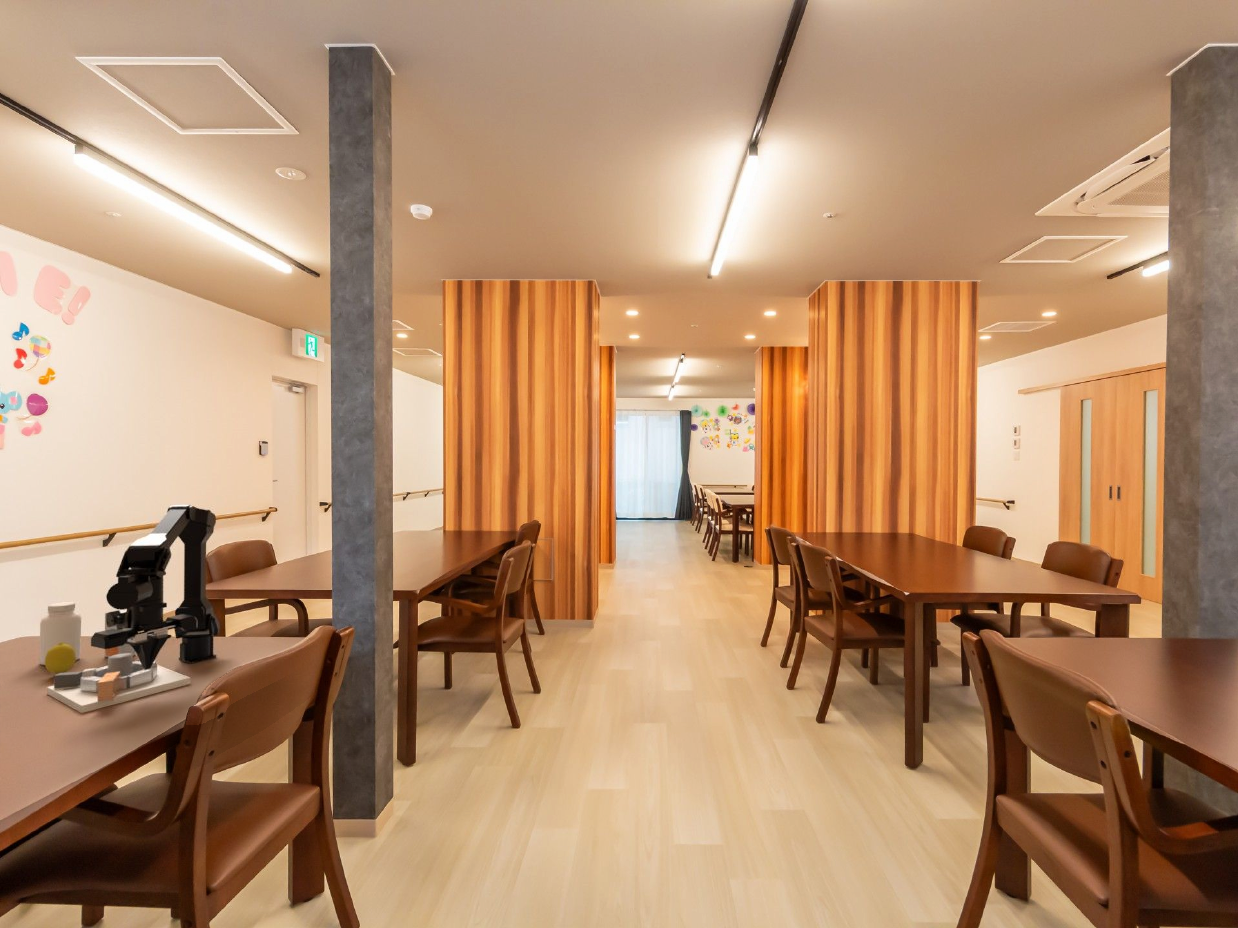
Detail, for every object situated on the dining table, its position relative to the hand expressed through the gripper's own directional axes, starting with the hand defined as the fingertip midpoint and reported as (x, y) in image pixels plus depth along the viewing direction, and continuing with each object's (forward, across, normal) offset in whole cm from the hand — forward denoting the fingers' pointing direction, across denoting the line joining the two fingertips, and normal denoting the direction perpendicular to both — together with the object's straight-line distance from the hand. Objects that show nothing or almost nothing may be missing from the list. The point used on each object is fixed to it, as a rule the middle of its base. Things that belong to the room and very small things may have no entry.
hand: (146, 668), depth 136 cm
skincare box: (+6, -14, -37) cm, 40 cm away
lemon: (+6, +1, -33) cm, 34 cm away
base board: (+6, 0, -10) cm, 12 cm away
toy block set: (+4, +2, -7) cm, 9 cm away
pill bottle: (+6, -5, -47) cm, 47 cm away
